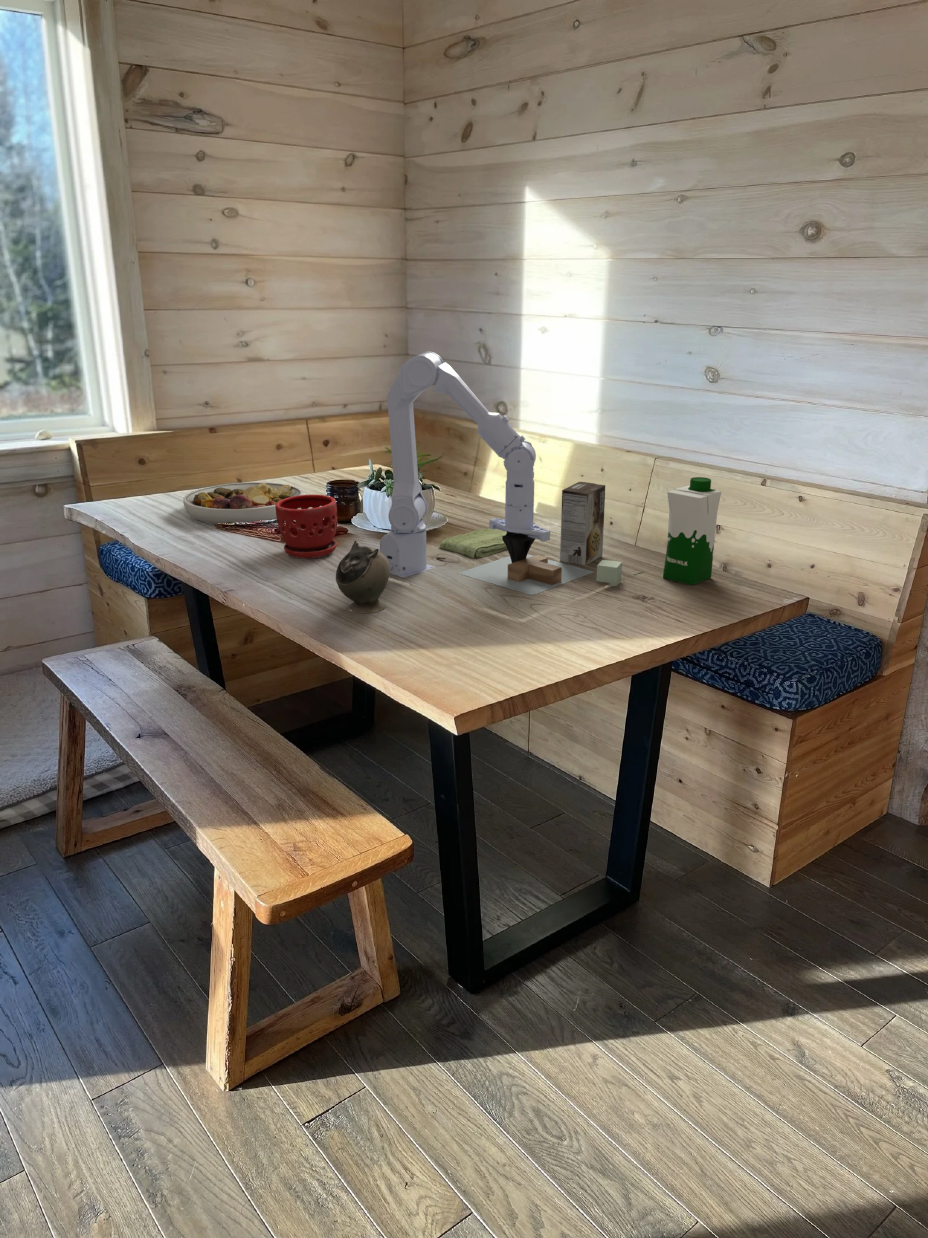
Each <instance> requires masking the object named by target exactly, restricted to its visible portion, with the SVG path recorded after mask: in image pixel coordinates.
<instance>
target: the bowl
mask: <svg viewBox="0 0 928 1238" xmlns="http://www.w3.org/2000/svg"><path fill="white" fill-rule="evenodd" d="M299 495H304V491H303V490H302V488H301V489H300V488H299V487H296V486H294V485H290V484H286V483H285V484H284V483H280V482H279V483H278V482H266V481H265V482H264V481H263V482H260V481H255V482H253V481H252V482H232V483H225V484H224V483H223V484H218V485H211V486H207V487H206V486H205V487H203V488H198V489H195V490H194V491H191V492H189V493H186V495H184V497H183V499H182V501H183V503H182V504H183V507H184V509H185V511H186V513H187V514H188V515H189V516H190V517H191V518H193V519H195V520H197V521H199V522H201V523H204V522H205V524H209V523H211V524H210V525H215V524H218V523H227V522H254V521H260V520H261V521H262V520H272V519H277V517H276V509H275V505H276V503H277V502H278V501H280V500H282V499H285V498H289V497H293V496H299ZM297 509H301V508H297Z"/></svg>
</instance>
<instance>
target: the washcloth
mask: <svg viewBox="0 0 928 1238" xmlns="http://www.w3.org/2000/svg"><path fill="white" fill-rule="evenodd" d="M506 534H507V532H506V531H502V530H498V529H490V528H489V527H488V528H479V529H477V530H474V531H473V530H472V531H470V532H467V533H464V534H458V535H457V534H456V535H453V536H450V537H446V538H445V539H443V540H442V541H440V543H439V547H440V548H441V549H443V550H446V551H450V552H453V553H457V554H461V555H463V556H466V557H469V558H470V559H477V558H482V559H483V558H485V557H488V556H492V555H493V554H498V553H500V552H503V551H508V549H507V547H506V545H505V543H504V542H503V540H502V536H504V535H506Z"/></svg>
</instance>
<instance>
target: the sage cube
mask: <svg viewBox="0 0 928 1238" xmlns="http://www.w3.org/2000/svg"><path fill="white" fill-rule="evenodd" d="M622 571H623V562H622V561H617V560H608V559H602V560H601V561H599V563H598V564H597V566H596V582H599V583H600V582H601V583H607V584H605V586H608V587H609V586H611V587H617V586H618V585H619V583H620V582H621V581H622Z"/></svg>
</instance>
